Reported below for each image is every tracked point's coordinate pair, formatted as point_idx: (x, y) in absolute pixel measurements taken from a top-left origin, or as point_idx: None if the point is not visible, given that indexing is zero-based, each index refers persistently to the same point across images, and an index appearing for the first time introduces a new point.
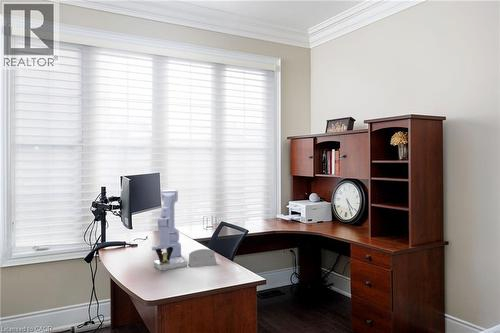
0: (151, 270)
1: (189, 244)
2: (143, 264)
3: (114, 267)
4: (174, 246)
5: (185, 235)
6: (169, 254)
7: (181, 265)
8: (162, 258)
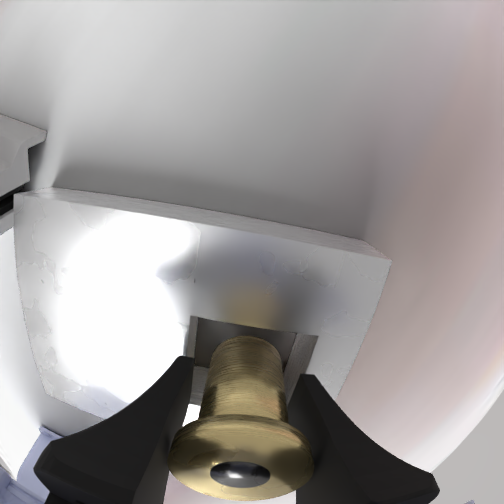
0: (403, 321)
1: (16, 466)
2: None
3: (433, 462)
4: (6, 488)
5: None
6: (160, 416)
7: (91, 196)
8: (286, 410)
